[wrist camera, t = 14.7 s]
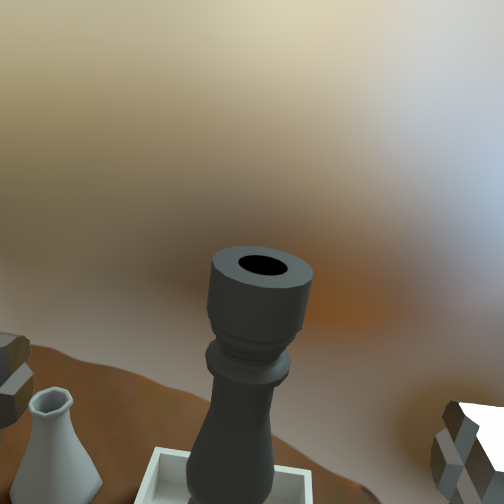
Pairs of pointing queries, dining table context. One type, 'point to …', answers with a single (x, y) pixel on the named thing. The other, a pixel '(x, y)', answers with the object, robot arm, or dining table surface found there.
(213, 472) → the candle holder
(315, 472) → the dining table surface
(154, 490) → the box
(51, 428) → the flask
